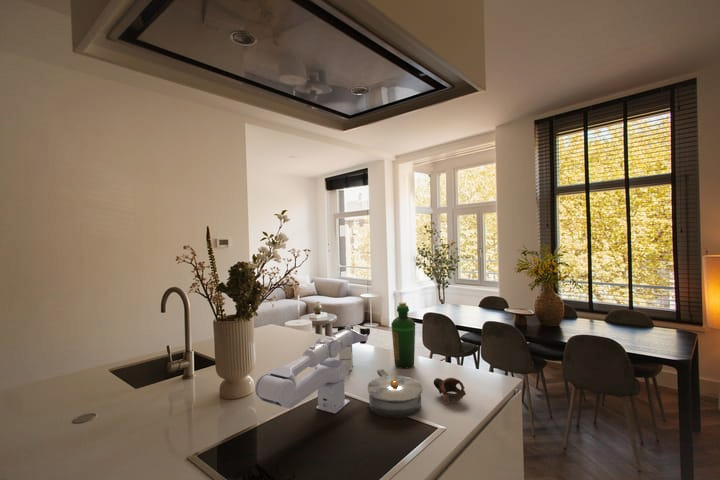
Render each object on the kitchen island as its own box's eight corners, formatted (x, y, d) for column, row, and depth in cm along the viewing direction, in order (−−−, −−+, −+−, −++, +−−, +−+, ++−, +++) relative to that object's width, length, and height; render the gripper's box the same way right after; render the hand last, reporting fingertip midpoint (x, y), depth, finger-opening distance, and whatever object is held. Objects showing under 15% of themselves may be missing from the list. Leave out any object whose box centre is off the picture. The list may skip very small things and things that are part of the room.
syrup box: (352, 370, 150) (351, 337, 150) (339, 370, 150) (338, 337, 150) (353, 365, 155) (352, 333, 155) (340, 366, 155) (339, 334, 155)
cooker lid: (431, 397, 111) (431, 388, 111) (377, 406, 107) (377, 397, 107) (402, 369, 135) (402, 362, 135) (357, 376, 130) (357, 368, 130)
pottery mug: (469, 396, 123) (470, 382, 119) (458, 417, 117) (459, 403, 113) (438, 381, 130) (438, 366, 126) (426, 400, 124) (426, 385, 120)
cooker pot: (412, 422, 106) (412, 406, 106) (361, 412, 114) (360, 397, 114) (430, 390, 128) (430, 377, 128) (386, 383, 135) (385, 371, 135)
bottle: (399, 359, 161) (398, 300, 161) (420, 364, 155) (418, 302, 155) (388, 367, 153) (386, 304, 152) (409, 372, 146) (407, 306, 146)
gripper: (358, 330, 121) (376, 321, 132) (324, 327, 128) (344, 318, 140) (359, 350, 121) (377, 339, 132) (326, 346, 128) (345, 336, 140)
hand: (360, 330), depth 136 cm, fingers open, 7 cm apart
